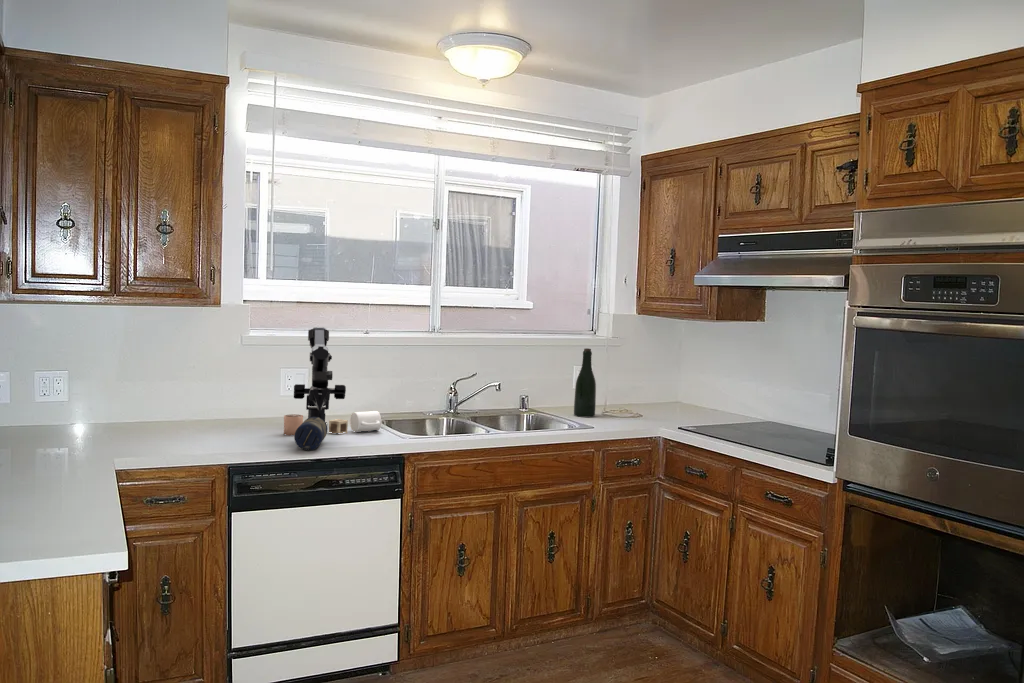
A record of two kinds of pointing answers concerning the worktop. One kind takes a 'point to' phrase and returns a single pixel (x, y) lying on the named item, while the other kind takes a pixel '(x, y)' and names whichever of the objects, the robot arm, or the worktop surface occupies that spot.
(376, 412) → the mug
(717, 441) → the worktop surface
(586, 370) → the beer bottle
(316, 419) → the canister
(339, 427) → the letter cube
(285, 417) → the cup
